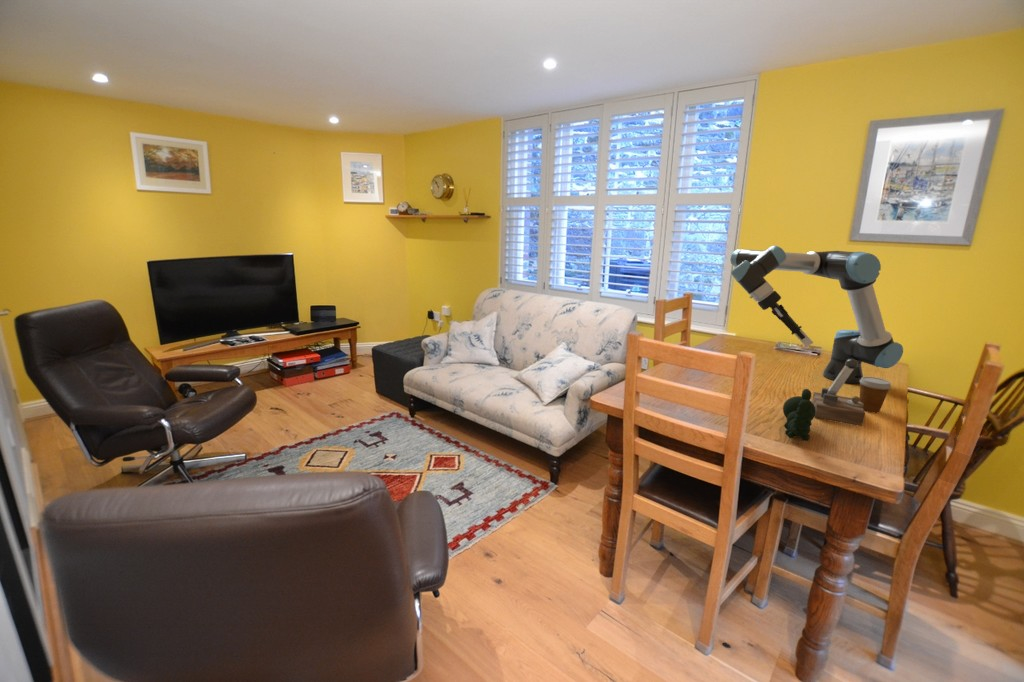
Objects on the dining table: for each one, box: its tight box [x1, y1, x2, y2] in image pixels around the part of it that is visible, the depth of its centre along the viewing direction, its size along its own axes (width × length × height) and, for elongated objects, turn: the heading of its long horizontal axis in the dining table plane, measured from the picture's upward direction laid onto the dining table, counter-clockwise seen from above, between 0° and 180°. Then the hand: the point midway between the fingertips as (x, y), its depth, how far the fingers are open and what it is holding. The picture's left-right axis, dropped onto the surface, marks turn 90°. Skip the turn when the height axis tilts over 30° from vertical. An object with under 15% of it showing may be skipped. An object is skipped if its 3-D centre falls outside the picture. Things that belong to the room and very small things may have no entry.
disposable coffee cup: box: [859, 376, 892, 414], centre depth 171 cm, size 10×10×12 cm
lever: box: [826, 359, 858, 395], centre depth 164 cm, size 4×4×17 cm
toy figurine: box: [782, 388, 816, 442], centre depth 149 cm, size 9×19×25 cm
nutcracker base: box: [811, 387, 866, 427], centre depth 166 cm, size 16×14×8 cm
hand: (809, 344), depth 167 cm, fingers closed
